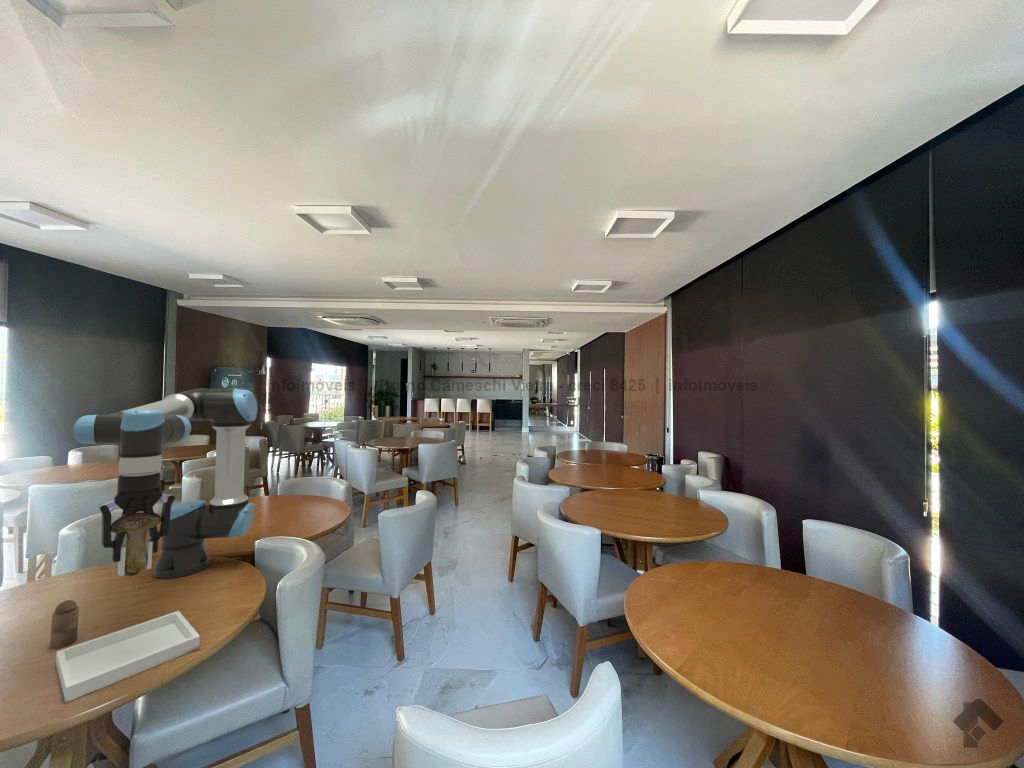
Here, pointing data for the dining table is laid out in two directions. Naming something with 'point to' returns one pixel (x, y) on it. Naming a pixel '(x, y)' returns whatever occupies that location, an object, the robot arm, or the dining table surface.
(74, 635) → the pepper mill
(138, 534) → the mushroom
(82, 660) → the tray
